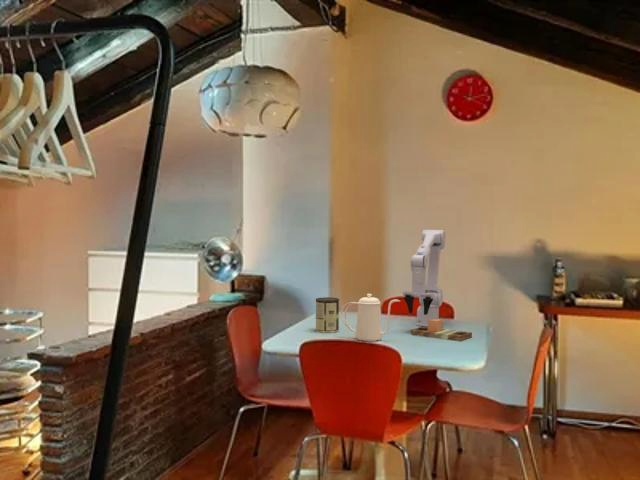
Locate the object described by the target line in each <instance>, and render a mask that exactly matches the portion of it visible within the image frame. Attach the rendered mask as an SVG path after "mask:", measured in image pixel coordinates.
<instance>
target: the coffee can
mask: <svg viewBox="0 0 640 480" xmlns="http://www.w3.org/2000/svg"><path fill="white" fill-rule="evenodd" d="M339 303H340V298H338V297H326V296H325V297H317V298H315V331H316V332H318V333H322V334H323V333H325V334H326V333H327V334H331V333H337V332H338V333H339V330H340V329H339V328H340V325H339V324H340V321H339V320H340V319H339V318H340V315H339V314H340V313H339V311H340V304H339Z"/></svg>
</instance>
